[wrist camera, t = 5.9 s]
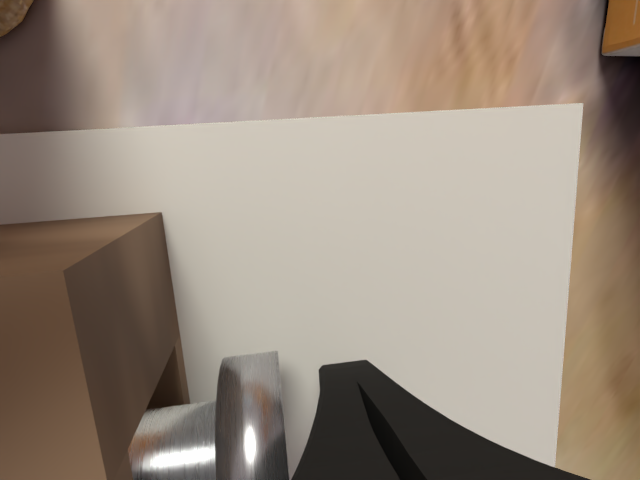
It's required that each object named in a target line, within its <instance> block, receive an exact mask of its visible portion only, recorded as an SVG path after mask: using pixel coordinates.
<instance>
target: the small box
mask: <svg viewBox="0 0 640 480" xmlns="http://www.w3.org/2000/svg"><path fill="white" fill-rule="evenodd" d="M602 54H603V55H604V56H640V0H609V4H608V12H607V19H606V26H605V29H604V34H603V42H602Z"/></svg>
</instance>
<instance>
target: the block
mask: <svg viewBox="0 0 640 480" xmlns="http://www.w3.org/2000/svg"><path fill="white" fill-rule="evenodd" d="M185 404H190V398H189V392H188V385H187V378H186V372H185V365H184V358H183V351H182V345H181V338H180V331H179V325H178V318H177V311H176V304H175V298H174V291H173V284H172V278H171V271H170V264H169V257H168V251H167V244H166V237H165V230H164V224H163V217H162V212H156V213H143V214H130V215H117V216H105V217H92V218H79V219H66V220H54V221H41V222H28V223H15V224H2V225H0V480H133V475H132V470H131V465H130V460H129V454H128V448H129V445H130V443H131V441H132V439H133V437H134V434H135V432H136V430H137V428H138V426H139V423H140V421H141V419H142V417H143V415H144V412H145V410H147V409H155V408H162V407H170V406H177V405H185Z"/></svg>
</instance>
